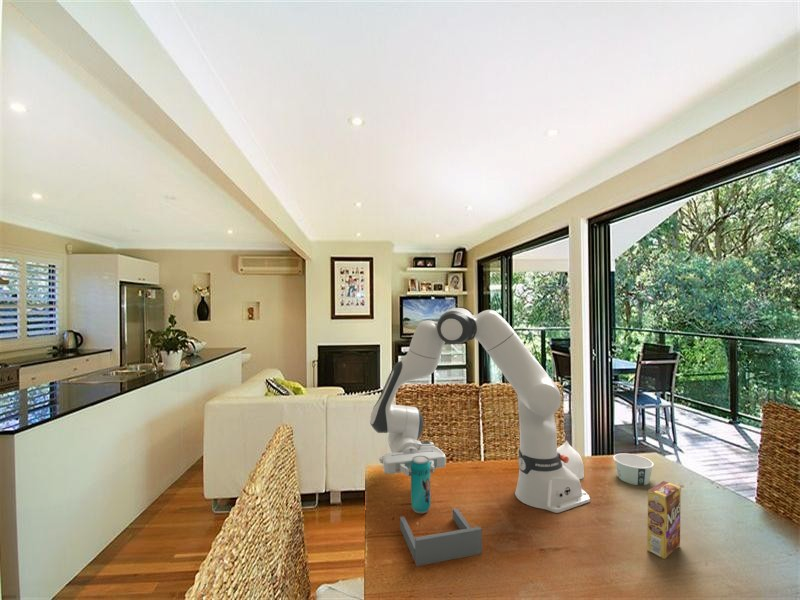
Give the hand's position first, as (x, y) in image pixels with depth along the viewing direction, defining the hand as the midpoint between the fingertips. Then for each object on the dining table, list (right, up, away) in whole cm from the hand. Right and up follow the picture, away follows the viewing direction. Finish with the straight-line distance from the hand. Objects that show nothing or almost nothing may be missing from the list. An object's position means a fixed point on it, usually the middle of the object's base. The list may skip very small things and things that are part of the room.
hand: (421, 471), depth 112 cm
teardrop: (+54, -11, +23) cm, 60 cm away
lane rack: (+4, -11, -13) cm, 18 cm away
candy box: (+60, -11, -18) cm, 63 cm away
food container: (+75, -11, +19) cm, 78 cm away
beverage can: (0, -12, 0) cm, 12 cm away
